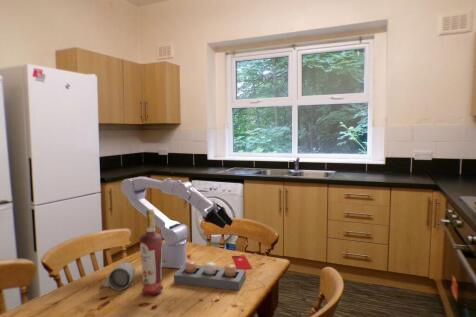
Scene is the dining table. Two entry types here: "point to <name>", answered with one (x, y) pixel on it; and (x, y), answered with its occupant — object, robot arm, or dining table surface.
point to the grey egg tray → (210, 278)
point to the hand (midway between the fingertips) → (228, 224)
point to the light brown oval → (230, 270)
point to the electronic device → (241, 262)
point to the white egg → (210, 268)
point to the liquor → (151, 257)
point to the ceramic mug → (120, 276)
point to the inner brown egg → (190, 266)
